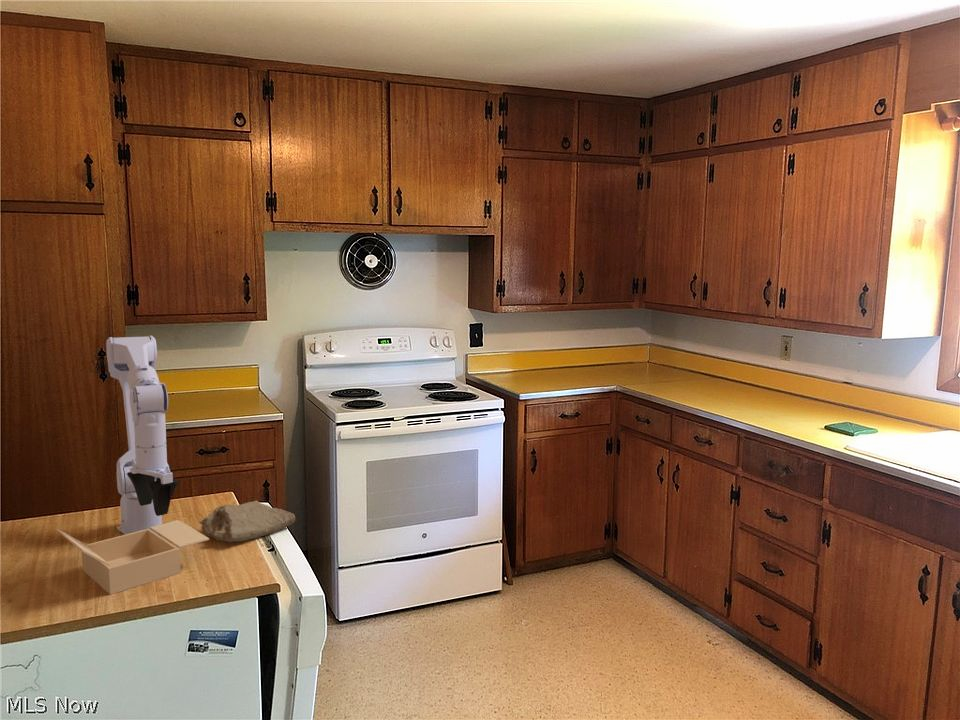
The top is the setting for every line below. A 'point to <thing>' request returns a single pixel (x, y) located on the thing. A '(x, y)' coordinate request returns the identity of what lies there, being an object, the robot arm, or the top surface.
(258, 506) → the artifact
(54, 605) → the top surface
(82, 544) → the cardboard box flap
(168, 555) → the carton
